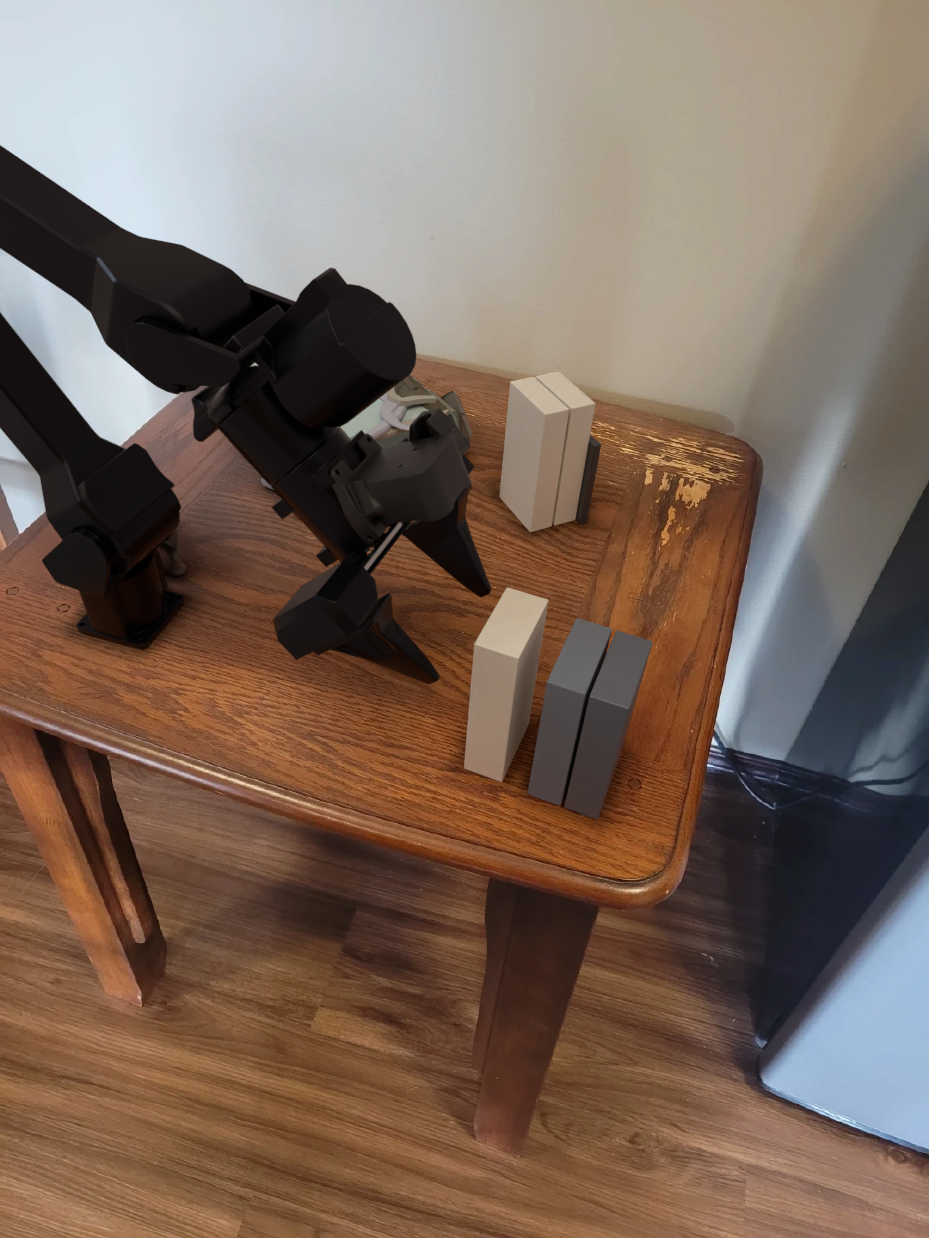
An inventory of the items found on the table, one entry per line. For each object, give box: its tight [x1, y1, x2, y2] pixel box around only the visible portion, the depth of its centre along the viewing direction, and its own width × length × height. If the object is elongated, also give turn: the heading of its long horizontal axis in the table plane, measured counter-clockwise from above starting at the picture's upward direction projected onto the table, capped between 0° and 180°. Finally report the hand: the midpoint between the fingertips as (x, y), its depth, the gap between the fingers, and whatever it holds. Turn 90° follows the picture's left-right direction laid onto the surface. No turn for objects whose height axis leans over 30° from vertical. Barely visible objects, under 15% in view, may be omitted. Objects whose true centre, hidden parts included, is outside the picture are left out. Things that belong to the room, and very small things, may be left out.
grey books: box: [527, 617, 654, 820], centre depth 58 cm, size 5×6×12 cm
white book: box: [463, 586, 549, 783], centre depth 59 cm, size 3×6×13 cm, turn 158°
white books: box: [499, 371, 602, 533], centre depth 81 cm, size 6×8×13 cm
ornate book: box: [251, 363, 473, 491], centre depth 91 cm, size 23×10×30 cm
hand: (462, 635), depth 57 cm, fingers open, 9 cm apart
